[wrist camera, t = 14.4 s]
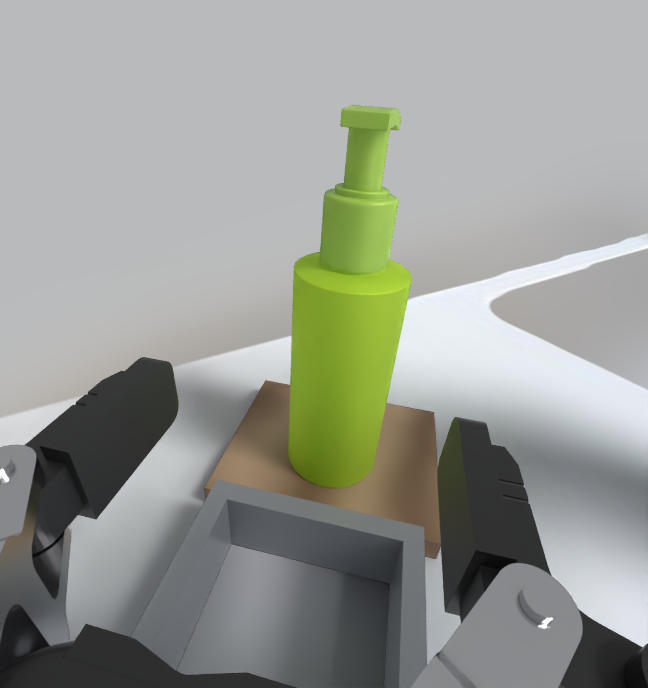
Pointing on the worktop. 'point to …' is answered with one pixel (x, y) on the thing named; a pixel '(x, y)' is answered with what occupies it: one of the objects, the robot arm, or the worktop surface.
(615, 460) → the worktop surface
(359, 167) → the soap dispenser
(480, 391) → the worktop surface
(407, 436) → the board
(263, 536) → the tray
